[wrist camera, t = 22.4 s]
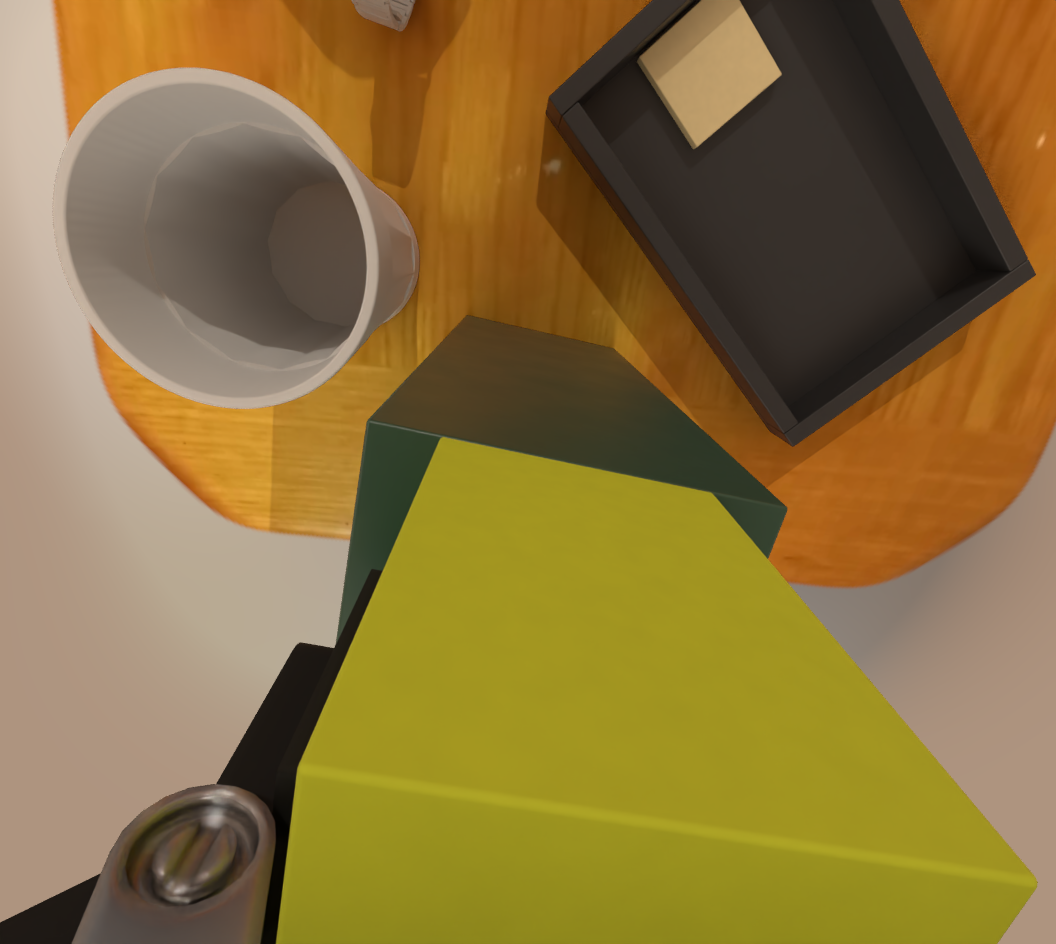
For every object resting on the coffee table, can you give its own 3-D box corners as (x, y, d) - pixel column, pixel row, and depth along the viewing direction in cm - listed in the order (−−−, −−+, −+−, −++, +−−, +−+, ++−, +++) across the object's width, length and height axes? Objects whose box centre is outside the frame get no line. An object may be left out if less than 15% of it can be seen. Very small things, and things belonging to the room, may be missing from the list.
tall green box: (614, 348, 28) (789, 508, 10) (577, 485, 30) (665, 818, 12) (466, 314, 27) (366, 419, 9) (440, 457, 29) (318, 764, 11)
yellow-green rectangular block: (712, 491, 10) (1046, 883, 4) (602, 808, 12) (691, 1381, 6) (440, 435, 9) (293, 767, 3) (379, 774, 12) (224, 1350, 5)
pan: (989, 273, 27) (1037, 274, 24) (770, 431, 29) (793, 447, 27) (788, -112, 22) (821, -159, 20) (545, 113, 25) (548, 97, 22)
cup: (389, 379, 28) (303, 460, 17) (227, 290, 27) (13, 312, 15) (470, 221, 26) (433, 191, 15) (298, 115, 24) (109, -12, 13)
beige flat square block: (776, 78, 24) (782, 74, 23) (693, 150, 25) (697, 147, 24) (721, -17, 23) (726, -24, 22) (635, 61, 23) (639, 56, 23)
